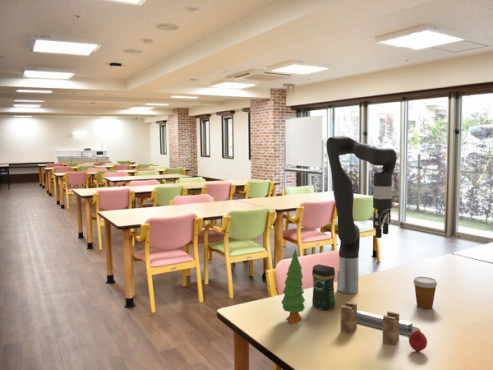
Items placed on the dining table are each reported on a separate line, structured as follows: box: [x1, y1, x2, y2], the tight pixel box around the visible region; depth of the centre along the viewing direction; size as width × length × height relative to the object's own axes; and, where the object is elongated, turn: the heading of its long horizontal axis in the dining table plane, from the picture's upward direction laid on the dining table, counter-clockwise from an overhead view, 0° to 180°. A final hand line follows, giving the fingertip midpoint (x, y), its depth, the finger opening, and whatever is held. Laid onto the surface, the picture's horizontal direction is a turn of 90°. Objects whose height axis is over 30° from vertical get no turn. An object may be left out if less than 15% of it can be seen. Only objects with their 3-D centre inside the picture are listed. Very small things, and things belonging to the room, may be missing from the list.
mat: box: [357, 319, 420, 337], centre depth 162 cm, size 28×8×1 cm, turn 53°
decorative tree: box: [281, 248, 306, 324], centre depth 166 cm, size 10×9×30 cm
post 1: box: [340, 301, 358, 334], centre depth 158 cm, size 4×6×10 cm, turn 143°
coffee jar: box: [311, 263, 336, 311], centre depth 180 cm, size 10×8×19 cm
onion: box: [408, 328, 428, 353], centre depth 140 cm, size 6×6×8 cm
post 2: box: [382, 310, 400, 346], centre depth 148 cm, size 4×6×10 cm, turn 143°
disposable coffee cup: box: [413, 276, 438, 310], centre depth 179 cm, size 10×10×12 cm
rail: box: [357, 309, 413, 332], centre depth 162 cm, size 24×3×3 cm, turn 53°
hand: (382, 235), depth 170 cm, fingers open, 8 cm apart
